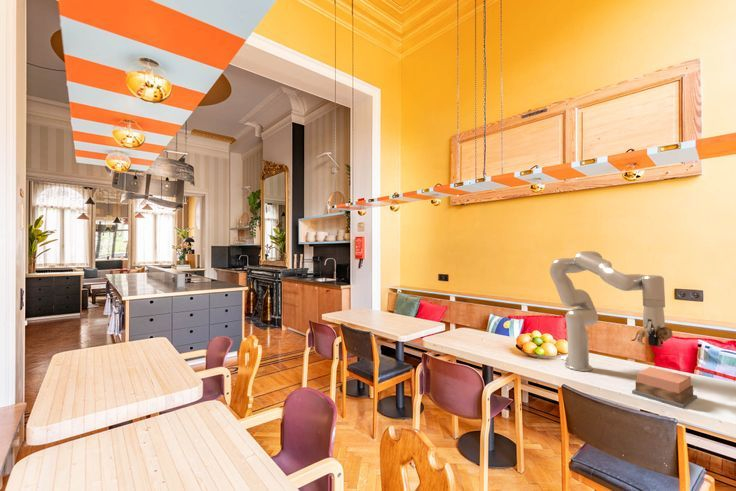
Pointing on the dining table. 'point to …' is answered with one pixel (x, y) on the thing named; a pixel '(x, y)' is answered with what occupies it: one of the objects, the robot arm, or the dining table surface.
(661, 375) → the top brick
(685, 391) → the brown flat block
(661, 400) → the baseplate
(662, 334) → the lion figurine
